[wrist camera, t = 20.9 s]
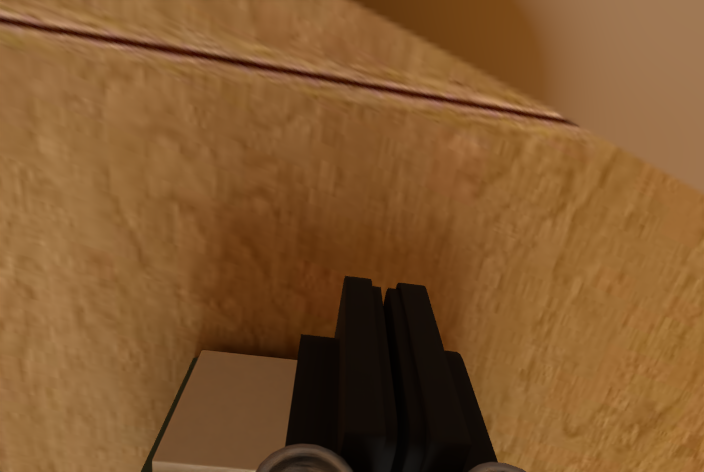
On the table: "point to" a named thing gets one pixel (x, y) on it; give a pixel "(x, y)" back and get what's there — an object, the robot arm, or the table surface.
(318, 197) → the table surface
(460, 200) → the table surface
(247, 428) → the drawer
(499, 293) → the table surface
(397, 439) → the robot arm
